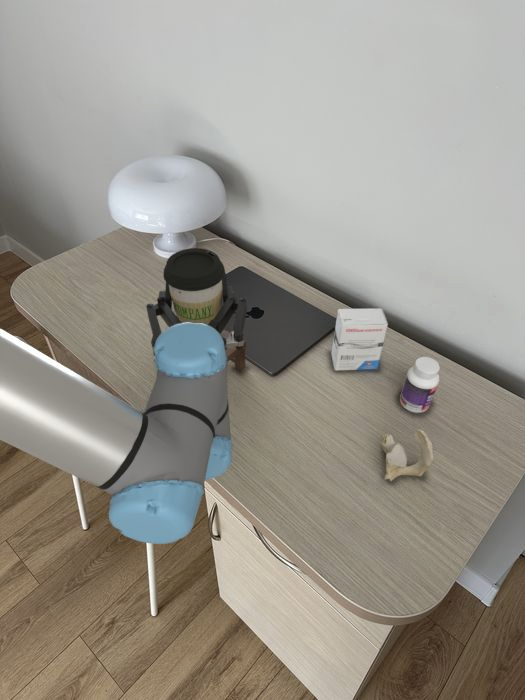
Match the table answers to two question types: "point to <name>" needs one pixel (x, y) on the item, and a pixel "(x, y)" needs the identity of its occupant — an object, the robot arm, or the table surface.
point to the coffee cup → (195, 284)
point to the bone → (398, 458)
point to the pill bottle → (420, 385)
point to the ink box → (358, 338)
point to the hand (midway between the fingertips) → (196, 280)
